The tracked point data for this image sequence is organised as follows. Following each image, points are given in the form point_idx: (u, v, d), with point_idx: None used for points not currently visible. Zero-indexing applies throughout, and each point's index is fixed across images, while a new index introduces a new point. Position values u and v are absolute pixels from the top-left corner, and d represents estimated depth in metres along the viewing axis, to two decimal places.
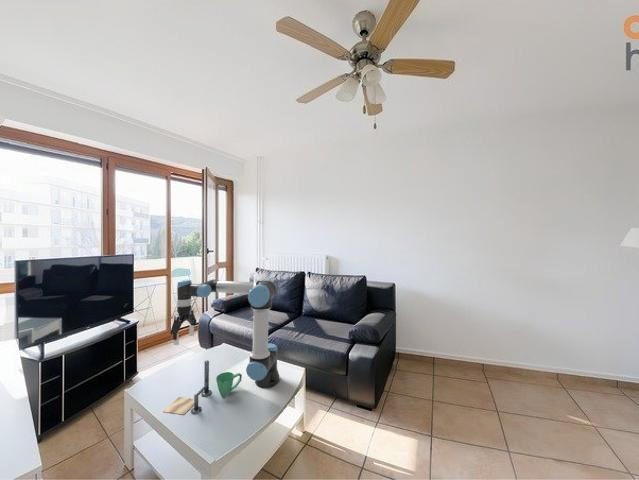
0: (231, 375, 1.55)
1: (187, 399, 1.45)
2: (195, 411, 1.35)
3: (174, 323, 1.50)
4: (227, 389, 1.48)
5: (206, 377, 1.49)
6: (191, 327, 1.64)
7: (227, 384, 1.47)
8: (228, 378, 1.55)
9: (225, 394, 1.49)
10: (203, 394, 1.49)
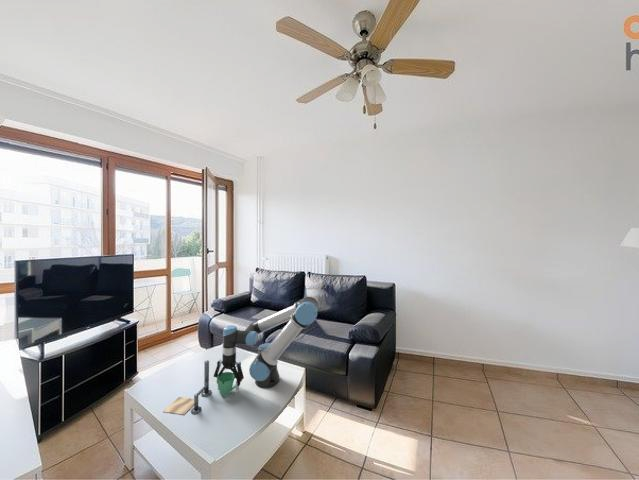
0: (232, 375, 1.55)
1: (187, 399, 1.45)
2: (195, 411, 1.35)
3: None
4: (227, 389, 1.48)
5: (206, 377, 1.49)
6: None
7: (228, 384, 1.47)
8: (228, 378, 1.55)
9: (225, 394, 1.49)
10: (203, 394, 1.49)
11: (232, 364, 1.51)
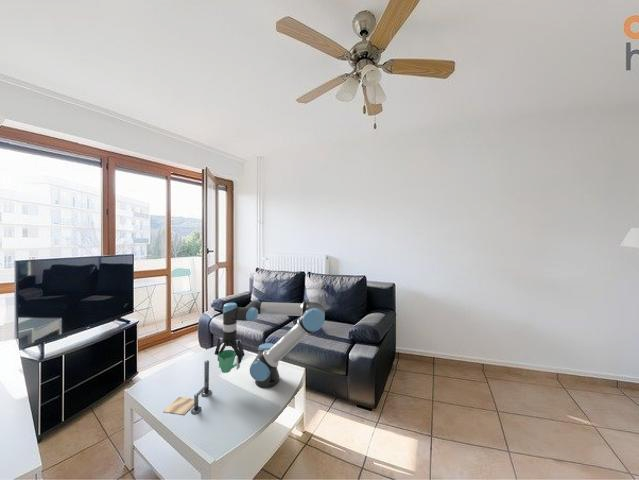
0: (233, 353, 1.54)
1: (187, 399, 1.45)
2: (195, 411, 1.35)
3: None
4: (228, 366, 1.48)
5: (206, 377, 1.49)
6: None
7: (229, 361, 1.47)
8: (230, 356, 1.55)
9: (226, 371, 1.48)
10: (203, 394, 1.49)
11: (233, 341, 1.50)
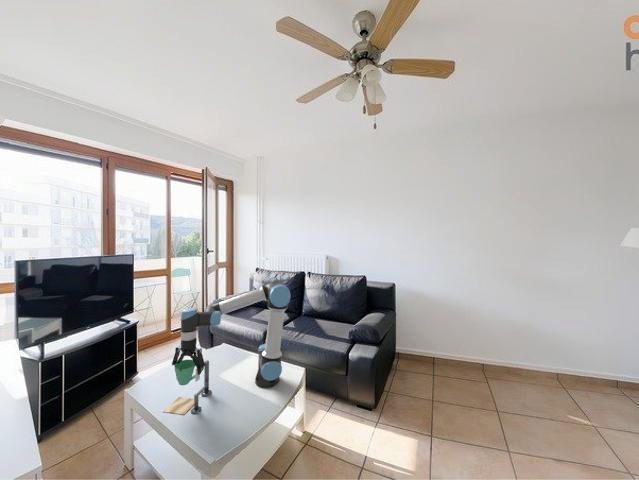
0: (192, 363, 1.41)
1: (187, 399, 1.45)
2: (195, 411, 1.35)
3: None
4: (186, 378, 1.34)
5: (206, 377, 1.49)
6: None
7: (186, 372, 1.33)
8: (189, 366, 1.41)
9: (184, 383, 1.35)
10: (203, 394, 1.49)
11: (192, 350, 1.37)
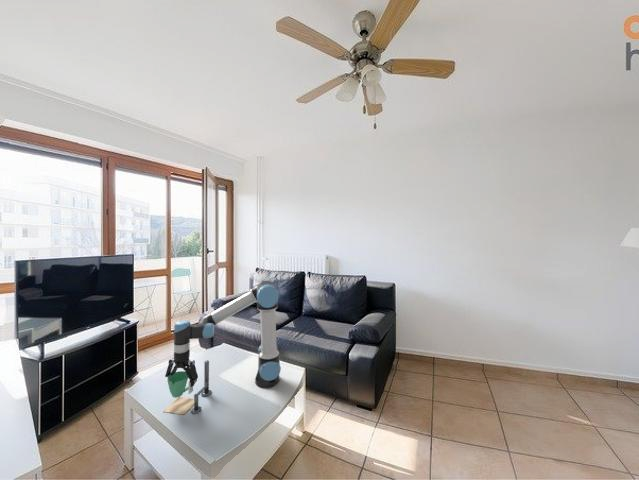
0: (186, 375, 1.42)
1: (187, 399, 1.45)
2: (195, 411, 1.35)
3: None
4: (179, 390, 1.35)
5: (206, 377, 1.49)
6: None
7: (179, 385, 1.34)
8: (182, 378, 1.42)
9: (177, 395, 1.36)
10: (203, 394, 1.49)
11: (184, 362, 1.38)
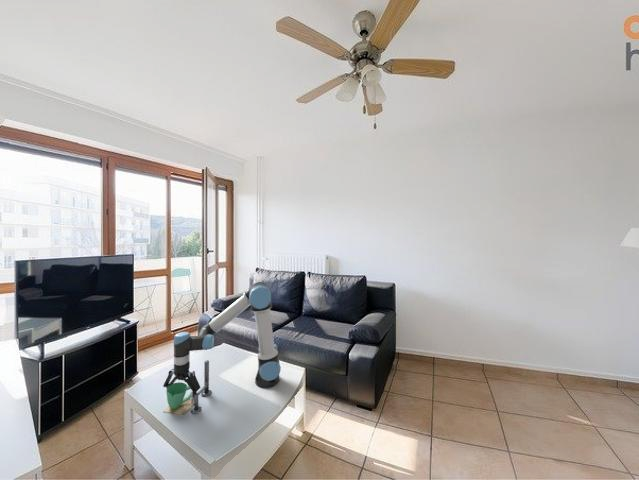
0: (184, 386, 1.42)
1: None
2: (195, 411, 1.35)
3: None
4: (177, 402, 1.36)
5: (206, 377, 1.49)
6: None
7: (177, 397, 1.35)
8: (181, 389, 1.43)
9: (174, 407, 1.36)
10: (203, 394, 1.49)
11: (185, 374, 1.38)
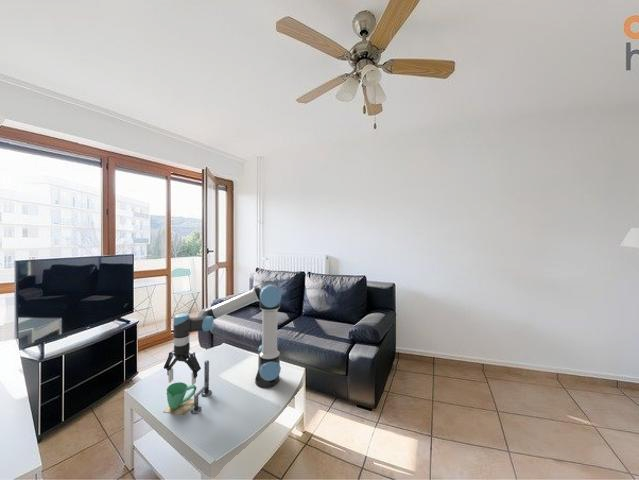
0: (184, 386, 1.42)
1: None
2: (195, 411, 1.35)
3: None
4: (177, 403, 1.36)
5: (206, 377, 1.49)
6: None
7: (178, 398, 1.35)
8: (181, 389, 1.42)
9: (174, 407, 1.36)
10: (203, 394, 1.49)
11: (185, 356, 1.38)
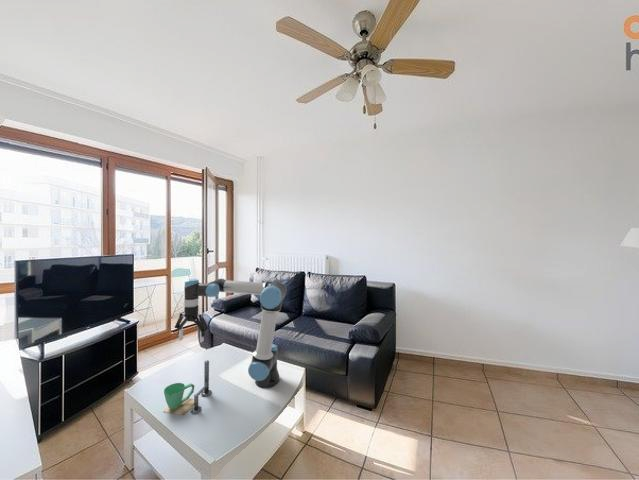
0: (182, 386, 1.43)
1: (187, 399, 1.45)
2: (195, 411, 1.35)
3: None
4: (176, 402, 1.36)
5: (206, 377, 1.49)
6: None
7: (176, 397, 1.35)
8: (179, 389, 1.43)
9: (174, 407, 1.36)
10: (203, 394, 1.49)
11: (194, 316, 1.53)
